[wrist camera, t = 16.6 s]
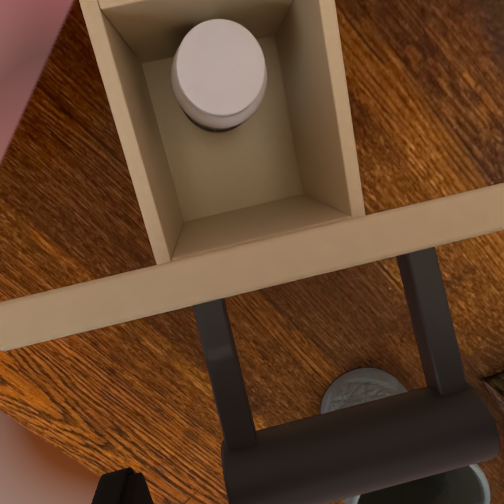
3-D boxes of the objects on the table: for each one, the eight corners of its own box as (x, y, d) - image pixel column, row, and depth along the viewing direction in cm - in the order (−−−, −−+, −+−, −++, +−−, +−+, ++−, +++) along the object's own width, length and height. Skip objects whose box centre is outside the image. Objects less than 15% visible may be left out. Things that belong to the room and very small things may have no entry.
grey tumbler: (407, 442, 41) (485, 557, 29) (311, 455, 40) (352, 578, 28) (410, 353, 38) (497, 440, 27) (307, 365, 37) (351, 461, 26)
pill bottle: (192, 142, 31) (185, 138, 21) (167, 65, 29) (147, 23, 20) (263, 121, 31) (287, 107, 21) (242, 43, 29) (258, -9, 20)
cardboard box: (129, 57, 30) (76, -7, 18) (280, 25, 30) (327, -58, 18) (177, 231, 33) (159, 275, 21) (311, 200, 34) (367, 226, 22)
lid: (-16, 305, 6) (72, 671, 6) (647, 148, 7) (728, 486, 7) (156, 271, 21) (183, 384, 21) (368, 220, 21) (395, 331, 21)
